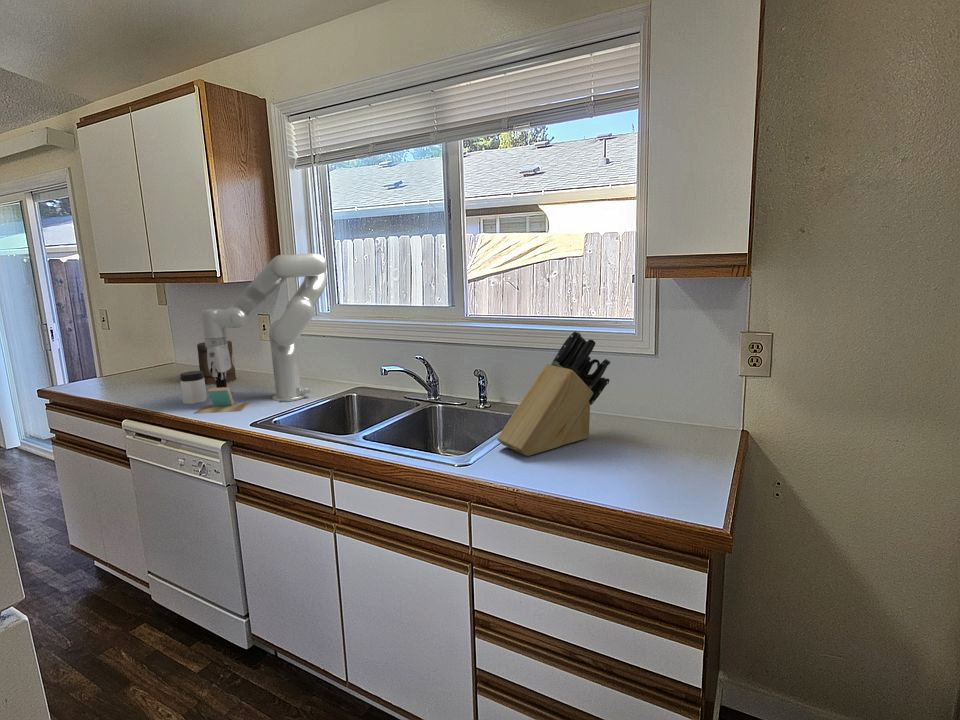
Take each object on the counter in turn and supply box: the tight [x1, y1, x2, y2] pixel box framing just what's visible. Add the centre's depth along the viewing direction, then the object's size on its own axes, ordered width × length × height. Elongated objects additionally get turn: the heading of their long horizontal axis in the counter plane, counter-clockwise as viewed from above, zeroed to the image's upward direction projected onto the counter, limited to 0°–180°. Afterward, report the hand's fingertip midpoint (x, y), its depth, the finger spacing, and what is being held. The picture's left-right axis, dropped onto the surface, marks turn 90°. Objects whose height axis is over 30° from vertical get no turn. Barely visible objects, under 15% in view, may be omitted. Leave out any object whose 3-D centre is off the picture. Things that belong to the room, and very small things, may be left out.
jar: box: [179, 370, 208, 405], centre depth 219 cm, size 9×8×12 cm
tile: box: [207, 386, 235, 407], centre depth 209 cm, size 7×2×8 cm, turn 94°
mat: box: [193, 402, 252, 414], centre depth 208 cm, size 17×12×1 cm
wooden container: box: [196, 340, 237, 385], centre depth 256 cm, size 15×15×22 cm
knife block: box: [496, 330, 611, 457], centre depth 158 cm, size 11×35×31 cm, turn 125°
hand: (222, 389), depth 210 cm, fingers closed
